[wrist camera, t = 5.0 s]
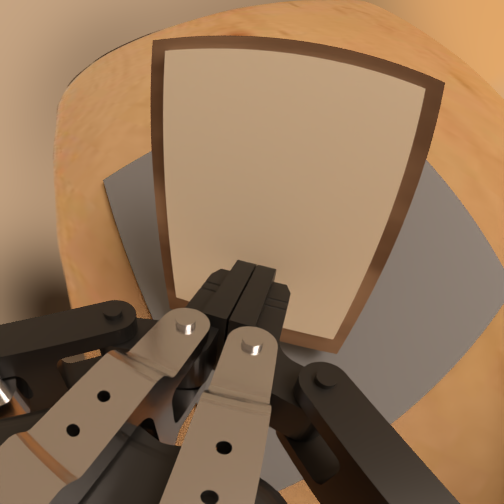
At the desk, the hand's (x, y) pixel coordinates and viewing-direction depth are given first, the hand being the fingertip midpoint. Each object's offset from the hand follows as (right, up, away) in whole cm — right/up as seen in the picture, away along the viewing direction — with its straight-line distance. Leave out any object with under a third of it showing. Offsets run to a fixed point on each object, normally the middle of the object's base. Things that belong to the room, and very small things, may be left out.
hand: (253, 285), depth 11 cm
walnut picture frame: (0, -2, +6) cm, 6 cm away
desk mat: (+5, +3, +9) cm, 10 cm away
